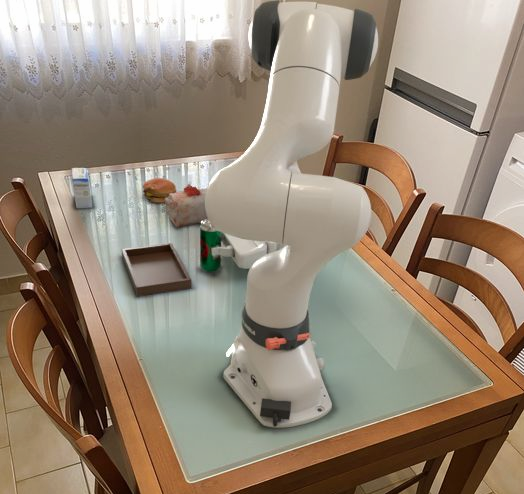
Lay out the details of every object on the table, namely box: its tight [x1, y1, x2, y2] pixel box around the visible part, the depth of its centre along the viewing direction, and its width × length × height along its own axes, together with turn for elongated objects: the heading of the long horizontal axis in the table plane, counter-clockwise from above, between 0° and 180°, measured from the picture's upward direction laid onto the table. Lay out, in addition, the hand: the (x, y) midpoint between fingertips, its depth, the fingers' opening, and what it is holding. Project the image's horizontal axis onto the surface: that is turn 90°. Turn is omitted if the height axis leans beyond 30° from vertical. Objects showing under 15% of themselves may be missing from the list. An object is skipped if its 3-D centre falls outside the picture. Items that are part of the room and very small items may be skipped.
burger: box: [142, 177, 177, 204], centre depth 158 cm, size 10×9×5 cm
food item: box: [165, 183, 208, 228], centre depth 146 cm, size 14×8×10 cm, turn 117°
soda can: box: [199, 219, 222, 273], centre depth 126 cm, size 5×5×12 cm
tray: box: [121, 242, 192, 297], centre depth 127 cm, size 18×13×2 cm
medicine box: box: [70, 167, 93, 209], centre depth 150 cm, size 8×4×9 cm, turn 17°
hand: (207, 244), depth 125 cm, fingers closed on soda can, 5 cm apart
